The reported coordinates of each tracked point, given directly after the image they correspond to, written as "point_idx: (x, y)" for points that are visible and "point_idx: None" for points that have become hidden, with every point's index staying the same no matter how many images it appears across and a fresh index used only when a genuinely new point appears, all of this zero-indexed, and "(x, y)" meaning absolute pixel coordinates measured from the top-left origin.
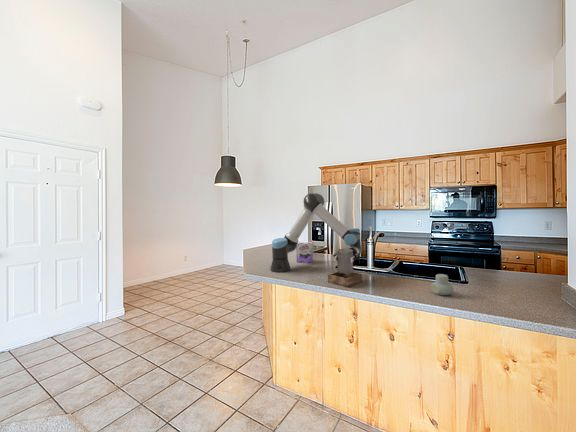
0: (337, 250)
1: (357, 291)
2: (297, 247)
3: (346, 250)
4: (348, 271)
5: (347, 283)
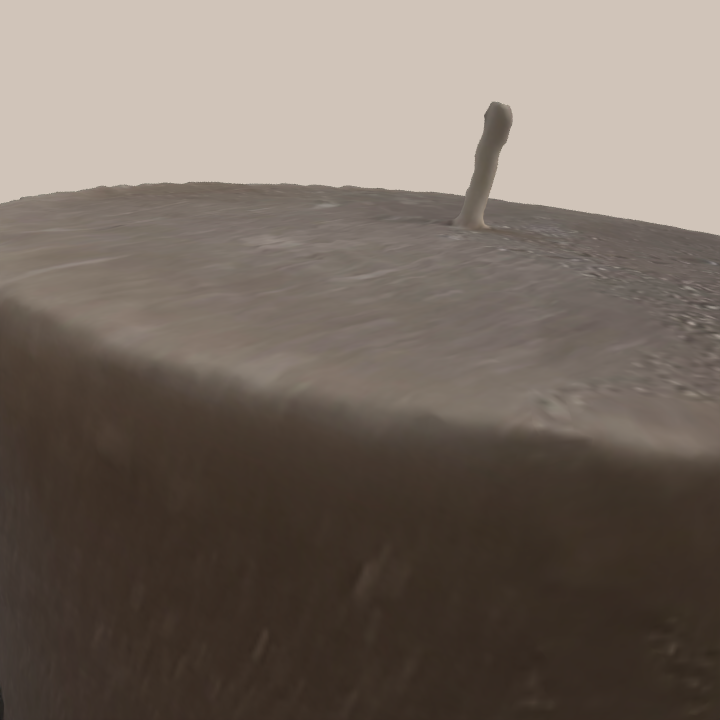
0: (710, 234)
1: None
2: None
3: (344, 203)
4: None
5: None
